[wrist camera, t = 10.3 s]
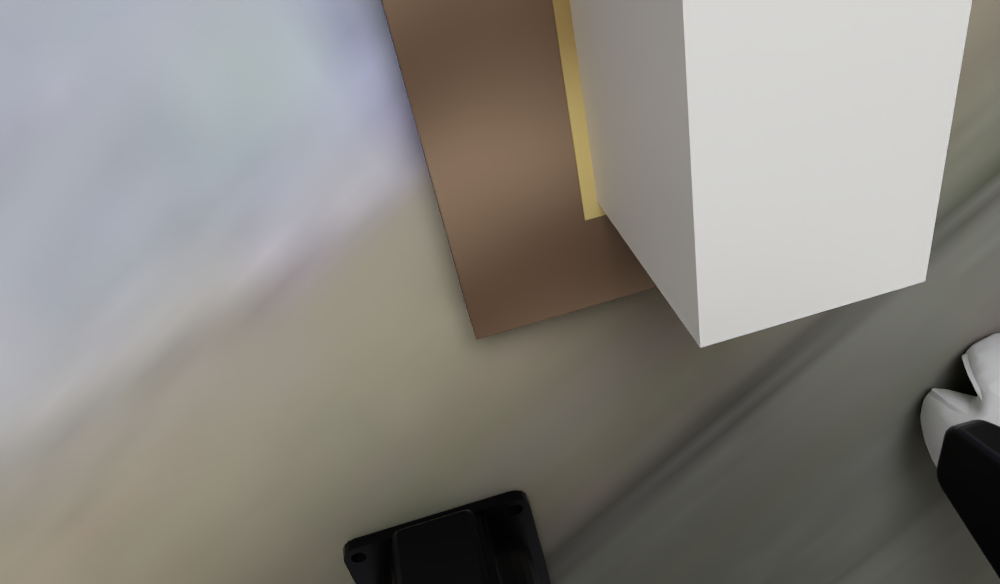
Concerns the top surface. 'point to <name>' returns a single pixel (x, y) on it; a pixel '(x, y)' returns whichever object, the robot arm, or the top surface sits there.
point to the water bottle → (965, 396)
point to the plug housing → (770, 147)
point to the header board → (510, 157)
